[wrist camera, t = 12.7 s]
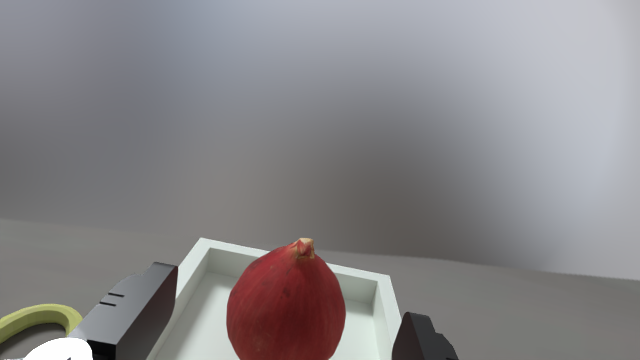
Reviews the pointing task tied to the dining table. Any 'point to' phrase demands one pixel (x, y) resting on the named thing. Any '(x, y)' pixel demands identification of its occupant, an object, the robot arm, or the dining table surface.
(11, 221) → the dining table surface
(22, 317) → the key
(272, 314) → the onion
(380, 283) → the tray
